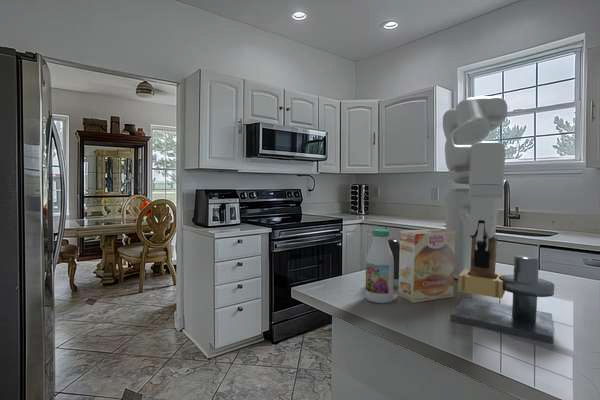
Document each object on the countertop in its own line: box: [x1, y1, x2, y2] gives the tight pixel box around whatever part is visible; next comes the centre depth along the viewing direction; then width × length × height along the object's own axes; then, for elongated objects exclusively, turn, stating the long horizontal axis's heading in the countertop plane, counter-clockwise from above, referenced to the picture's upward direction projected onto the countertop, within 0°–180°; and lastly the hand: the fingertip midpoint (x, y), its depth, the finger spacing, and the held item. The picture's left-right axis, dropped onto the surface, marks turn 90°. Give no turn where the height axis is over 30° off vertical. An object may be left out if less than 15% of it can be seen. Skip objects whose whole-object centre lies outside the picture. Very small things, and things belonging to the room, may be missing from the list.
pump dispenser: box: [388, 238, 400, 289], centre depth 111 cm, size 10×10×15 cm
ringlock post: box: [450, 255, 555, 345], centre depth 84 cm, size 20×16×16 cm
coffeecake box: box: [397, 228, 456, 303], centre depth 101 cm, size 15×7×20 cm, turn 112°
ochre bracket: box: [457, 269, 507, 300], centre depth 89 cm, size 10×14×4 cm, turn 144°
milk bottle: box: [364, 228, 394, 304], centre depth 98 cm, size 8×8×20 cm
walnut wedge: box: [470, 235, 498, 279], centre depth 86 cm, size 5×4×11 cm
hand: (483, 264), depth 86 cm, fingers closed on walnut wedge, 4 cm apart
